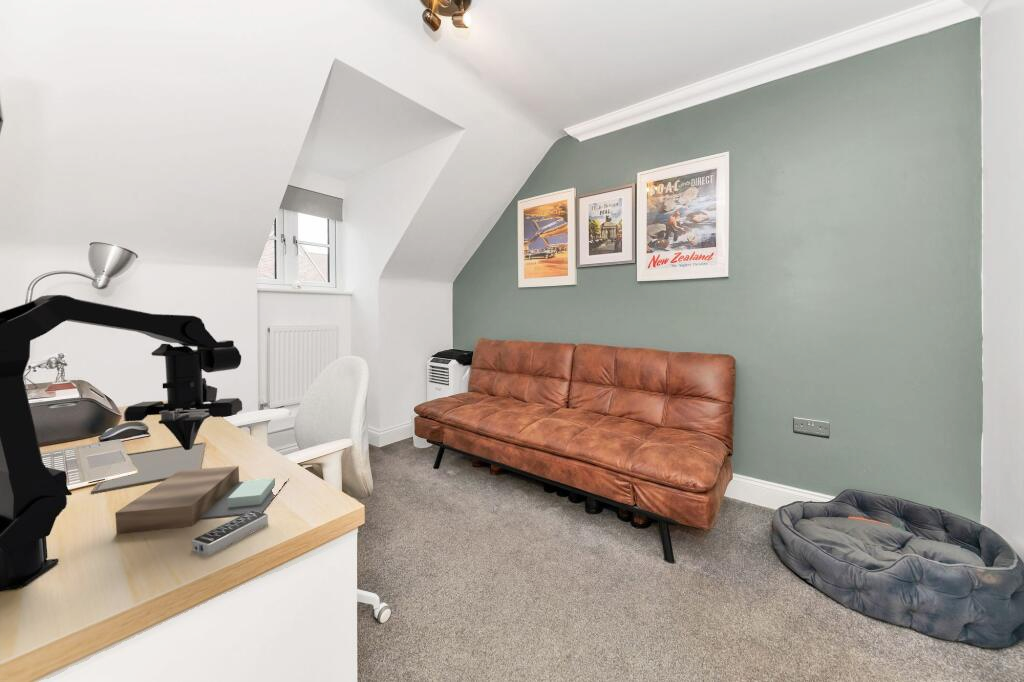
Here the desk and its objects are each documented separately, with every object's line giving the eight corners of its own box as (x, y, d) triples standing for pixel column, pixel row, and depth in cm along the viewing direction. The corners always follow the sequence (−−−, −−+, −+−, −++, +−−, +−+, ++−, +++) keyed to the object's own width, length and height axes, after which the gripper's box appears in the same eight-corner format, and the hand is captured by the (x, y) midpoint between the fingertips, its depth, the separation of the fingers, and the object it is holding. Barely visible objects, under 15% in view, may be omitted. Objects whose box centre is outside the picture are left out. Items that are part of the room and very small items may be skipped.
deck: (192, 525, 75) (191, 505, 74) (116, 533, 72) (115, 512, 72) (239, 482, 94) (238, 465, 94) (180, 487, 91) (180, 470, 91)
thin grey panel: (119, 458, 110) (91, 496, 88) (119, 454, 110) (90, 491, 88) (205, 445, 122) (200, 475, 99) (205, 442, 121) (200, 471, 99)
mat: (262, 513, 80) (262, 511, 80) (199, 519, 77) (199, 517, 77) (289, 478, 96) (289, 477, 96) (238, 483, 94) (238, 481, 94)
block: (227, 498, 81) (228, 507, 81) (260, 494, 83) (260, 504, 83) (245, 480, 90) (245, 488, 90) (274, 477, 91) (274, 486, 91)
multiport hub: (269, 525, 76) (268, 513, 76) (209, 558, 65) (208, 545, 65) (252, 521, 77) (252, 509, 77) (191, 552, 67) (190, 539, 67)
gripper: (251, 369, 91) (254, 434, 92) (156, 371, 87) (160, 440, 88) (228, 376, 80) (232, 451, 82) (119, 379, 76) (124, 458, 77)
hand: (188, 449), depth 82 cm, fingers closed
